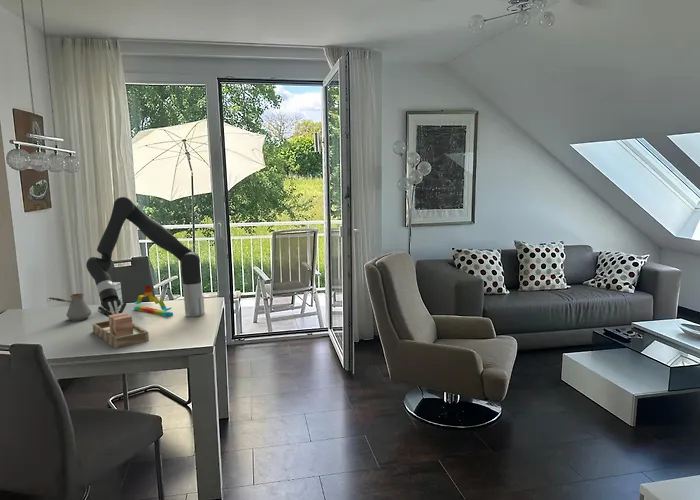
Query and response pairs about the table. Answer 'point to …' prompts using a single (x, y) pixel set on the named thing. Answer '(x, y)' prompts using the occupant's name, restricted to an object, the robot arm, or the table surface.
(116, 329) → the block
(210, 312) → the table surface
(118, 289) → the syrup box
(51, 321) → the table surface
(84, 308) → the coffee pot
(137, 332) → the pad
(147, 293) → the multicoloured triangular frame
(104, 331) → the trough
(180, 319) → the table surface
